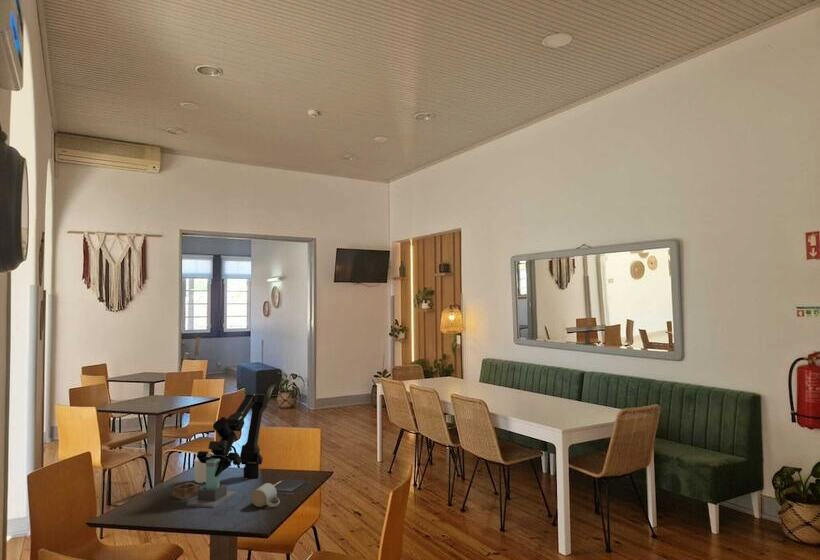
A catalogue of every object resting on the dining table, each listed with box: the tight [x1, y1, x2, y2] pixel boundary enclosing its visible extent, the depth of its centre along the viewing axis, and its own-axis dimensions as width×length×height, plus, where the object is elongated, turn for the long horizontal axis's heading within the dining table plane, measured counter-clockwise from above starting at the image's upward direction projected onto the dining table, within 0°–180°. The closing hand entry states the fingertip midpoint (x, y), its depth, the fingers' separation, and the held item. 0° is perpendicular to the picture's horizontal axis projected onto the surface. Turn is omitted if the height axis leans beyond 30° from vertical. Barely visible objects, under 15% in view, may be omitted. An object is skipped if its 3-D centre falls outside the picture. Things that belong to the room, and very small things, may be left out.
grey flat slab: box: [272, 478, 311, 495], centre depth 246 cm, size 20×2×15 cm
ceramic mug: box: [250, 482, 281, 508], centre depth 223 cm, size 11×8×8 cm
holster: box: [172, 482, 201, 501], centre depth 236 cm, size 8×7×4 cm
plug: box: [205, 458, 221, 490], centre depth 231 cm, size 4×4×13 cm
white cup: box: [193, 457, 206, 484], centre depth 257 cm, size 8×8×10 cm
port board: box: [186, 483, 237, 509], centre depth 230 cm, size 18×12×5 cm, turn 168°
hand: (211, 476), depth 229 cm, fingers closed on plug, 4 cm apart
